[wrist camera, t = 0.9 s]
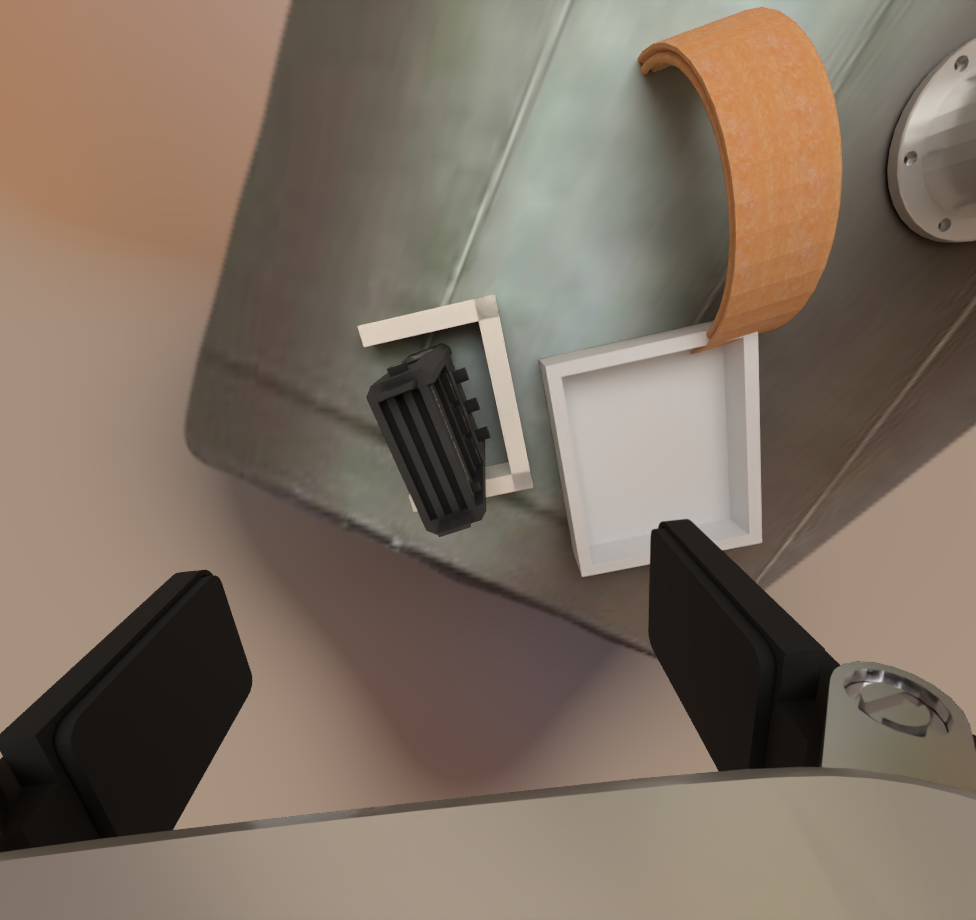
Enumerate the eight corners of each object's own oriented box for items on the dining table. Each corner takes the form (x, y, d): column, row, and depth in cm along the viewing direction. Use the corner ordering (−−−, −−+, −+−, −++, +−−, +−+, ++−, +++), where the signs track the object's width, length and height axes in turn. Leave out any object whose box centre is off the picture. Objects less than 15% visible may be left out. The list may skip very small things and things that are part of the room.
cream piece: (493, 294, 35) (494, 294, 32) (529, 474, 40) (533, 487, 37) (367, 323, 35) (357, 326, 33) (418, 497, 40) (413, 512, 38)
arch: (683, 354, 36) (754, 365, 27) (634, 62, 31) (700, -55, 21) (757, 332, 36) (855, 336, 26) (720, 32, 30) (827, -102, 21)
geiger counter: (500, 451, 39) (510, 537, 25) (450, 468, 40) (432, 562, 25) (456, 331, 36) (439, 353, 22) (402, 351, 36) (351, 385, 22)
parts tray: (728, 317, 36) (757, 319, 32) (736, 520, 42) (762, 542, 38) (538, 359, 37) (545, 366, 33) (573, 552, 42) (581, 577, 39)
